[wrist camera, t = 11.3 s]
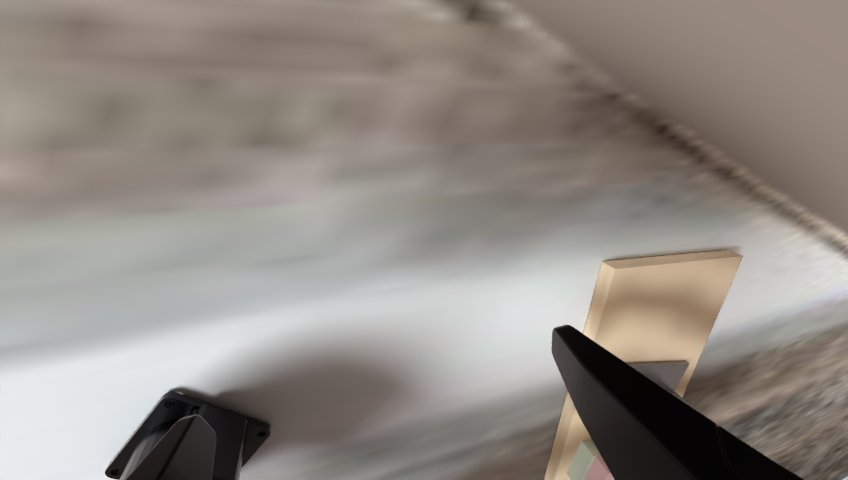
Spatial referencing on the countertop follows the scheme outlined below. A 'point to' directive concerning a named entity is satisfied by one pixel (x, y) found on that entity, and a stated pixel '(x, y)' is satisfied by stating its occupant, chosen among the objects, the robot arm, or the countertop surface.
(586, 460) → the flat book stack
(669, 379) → the metal bookend
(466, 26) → the countertop surface
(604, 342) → the shelf plank
